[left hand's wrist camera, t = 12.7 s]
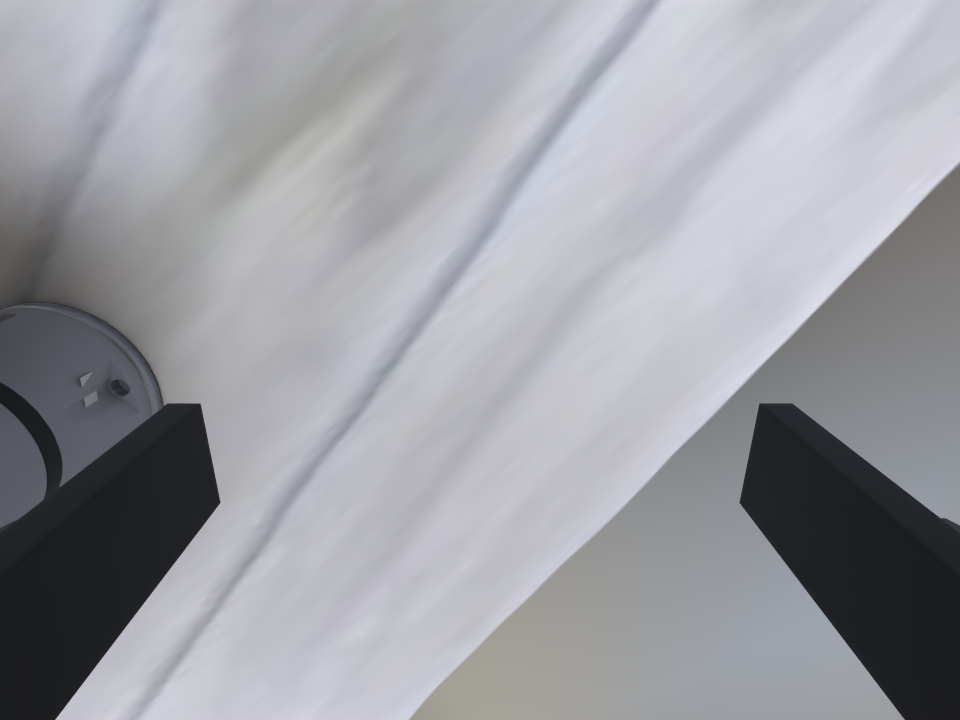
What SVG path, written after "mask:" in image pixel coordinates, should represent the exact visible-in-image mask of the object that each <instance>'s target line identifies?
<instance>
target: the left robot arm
mask: <svg viewBox="0 0 960 720" xmlns="http://www.w3.org/2000/svg"><path fill="white" fill-rule="evenodd" d="M219 504H220V498H219V493H218V488H217V483H216V478H215V473H214V469H213V464H212V459H211V454H210V449H209V444H208V439H207V434H206V429H205V424H204V419H203V414H202V409H201V404H167V405H165V406H164V407H163V408H162V403H161V397H160V393H159V389H158V386H157V383H156V381H155V379H154V376H153V374H152V372H151V370H150V369H149V367H148V365H147V363H146V362H145V361H144V359H143V358H142V356H141V355H140V354H139V353H138V351H137V350H136V349H135V348H134V347H133V346H132V345H131V344H130V343H129V342H128V341H127V340H126V339H125V338H124V337H123V336H122V335H121V334H120V333H118V332H117V331H116V330H114V329H113V328H112V327H110V326H109V325H107V324H106V323H104V322H103V321H101V320H99V319H97V318H95V317H93V316H92V315H89V314H87V313H85V312H82V311H80V310H77V309H74V308H71V307H67V306H63V305H58V304H52V303H41V302H39V303H23V304H18V305H13V306H10V307H7V308H3V309H0V720H55V719H56V718H57V717H58V715H59V714H60V713H61V711H62V710H63V709H64V707H65V706H66V705H67V703H68V702H69V701H70V700H71V698H72V697H73V696H74V694H75V693H76V692H77V690H78V689H79V688H80V686H81V685H82V684H83V682H84V681H85V680H86V679H87V677H88V676H89V675H90V673H91V672H92V671H93V669H94V668H95V667H96V665H97V664H98V663H99V661H100V660H101V659H102V658H103V656H104V655H105V654H106V652H107V651H108V650H109V648H110V647H111V646H112V644H113V643H114V642H115V640H116V639H117V638H118V637H119V635H120V634H121V633H122V631H123V630H124V629H125V627H126V626H127V625H128V623H129V622H130V621H131V619H132V618H133V617H134V616H135V614H136V613H137V612H138V610H139V609H140V608H141V606H142V605H143V604H144V602H145V601H146V600H147V598H148V597H149V596H150V594H151V593H152V592H153V591H154V589H155V588H156V587H157V585H158V584H159V583H160V581H161V580H162V579H163V577H164V576H165V575H166V573H167V572H168V571H169V570H170V568H171V567H172V566H173V564H174V563H175V562H176V560H177V559H178V558H179V556H180V555H181V554H182V552H183V551H184V550H185V549H186V547H187V546H188V545H189V543H190V542H191V541H192V539H193V538H194V537H195V535H196V534H197V533H198V531H199V530H200V529H201V528H202V526H203V525H204V524H205V522H206V521H207V520H208V518H209V517H210V516H211V514H212V513H213V512H214V510H215V509H216V508H217V507H218V505H219ZM740 504H741V505H742V507H743V508H744V509H745V510H746V512H747V513H748V514H749V516H750V517H751V518H752V520H753V521H754V522H755V524H756V525H757V526H758V528H759V529H760V530H761V531H762V533H763V534H764V535H765V537H766V538H767V539H768V541H769V542H770V543H771V545H772V546H773V547H774V549H775V550H776V551H777V552H778V554H779V555H780V556H781V558H782V559H783V560H784V562H785V563H786V564H787V566H788V567H789V568H790V570H791V571H792V572H793V573H794V575H795V576H796V577H797V579H798V580H799V581H800V583H801V584H802V585H803V587H804V588H805V589H806V590H807V592H808V593H809V594H810V596H811V597H812V598H813V600H814V601H815V602H816V604H817V605H818V606H819V608H820V609H821V610H822V612H823V613H824V614H825V615H826V617H827V618H828V619H829V621H830V622H831V623H832V625H833V626H834V627H835V629H836V630H837V631H838V633H839V634H840V635H841V636H842V638H843V639H844V640H845V642H846V643H847V644H848V646H849V647H850V648H851V650H852V651H853V652H854V654H855V655H856V656H857V658H858V659H859V660H860V661H861V663H862V664H863V665H864V667H865V668H866V669H867V671H868V672H869V673H870V675H871V676H872V677H873V679H874V680H875V681H876V682H877V684H878V685H879V686H880V688H881V689H882V690H883V692H884V693H885V694H886V696H887V697H888V698H889V700H890V701H891V702H892V703H893V705H894V706H895V707H896V709H897V710H898V711H899V713H900V714H901V715H902V717H903V718H904V719H905V720H960V526H959V525H957V524H955V523H953V522H951V521H950V520H948V519H945V518H939V517H938V516H937V515H935V514H934V513H933V512H931V511H930V510H929V509H928V508H926V507H925V506H924V505H922V504H921V503H920V502H918V501H917V500H916V499H915V498H913V497H912V496H911V495H910V494H908V493H907V492H906V491H904V490H903V489H902V488H900V487H899V486H898V485H897V484H895V483H894V482H893V481H891V480H890V479H889V478H888V477H886V476H885V475H884V474H882V473H881V472H880V471H878V470H877V469H876V468H875V467H873V466H872V465H871V464H869V463H868V462H867V461H866V460H864V459H863V458H862V457H860V456H859V455H858V454H857V453H855V452H854V451H853V450H851V449H850V448H849V447H847V446H846V445H845V444H844V443H842V442H841V441H840V440H838V439H837V438H836V437H835V436H833V435H832V434H831V433H829V432H828V431H827V430H826V429H824V428H823V427H822V426H820V425H819V424H818V423H816V422H815V421H814V420H813V419H811V418H810V417H809V416H807V415H806V414H805V413H804V412H802V411H801V410H800V409H798V408H797V407H796V406H795V405H793V404H759V409H758V414H757V419H756V424H755V429H754V434H753V439H752V444H751V449H750V454H749V459H748V464H747V469H746V474H745V478H744V483H743V489H742V494H741V498H740Z"/></svg>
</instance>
